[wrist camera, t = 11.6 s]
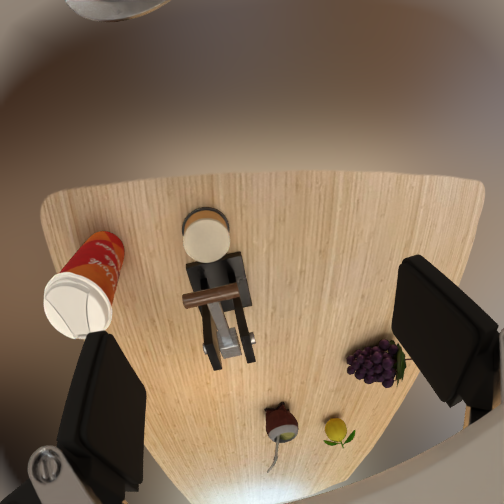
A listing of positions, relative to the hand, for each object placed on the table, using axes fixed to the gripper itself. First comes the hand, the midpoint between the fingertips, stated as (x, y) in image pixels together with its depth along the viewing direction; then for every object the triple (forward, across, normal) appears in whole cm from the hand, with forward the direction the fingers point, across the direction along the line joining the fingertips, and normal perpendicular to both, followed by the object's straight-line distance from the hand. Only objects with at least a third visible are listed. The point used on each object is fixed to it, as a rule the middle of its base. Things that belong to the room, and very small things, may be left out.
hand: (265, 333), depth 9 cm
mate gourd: (+32, -1, +56) cm, 65 cm away
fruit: (+32, -24, +44) cm, 60 cm away
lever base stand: (+32, +3, +18) cm, 37 cm away
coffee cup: (+32, +18, +9) cm, 38 cm away
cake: (+32, +3, +10) cm, 34 cm away
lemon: (+32, -15, +68) cm, 77 cm away
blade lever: (+19, +3, +14) cm, 23 cm away
